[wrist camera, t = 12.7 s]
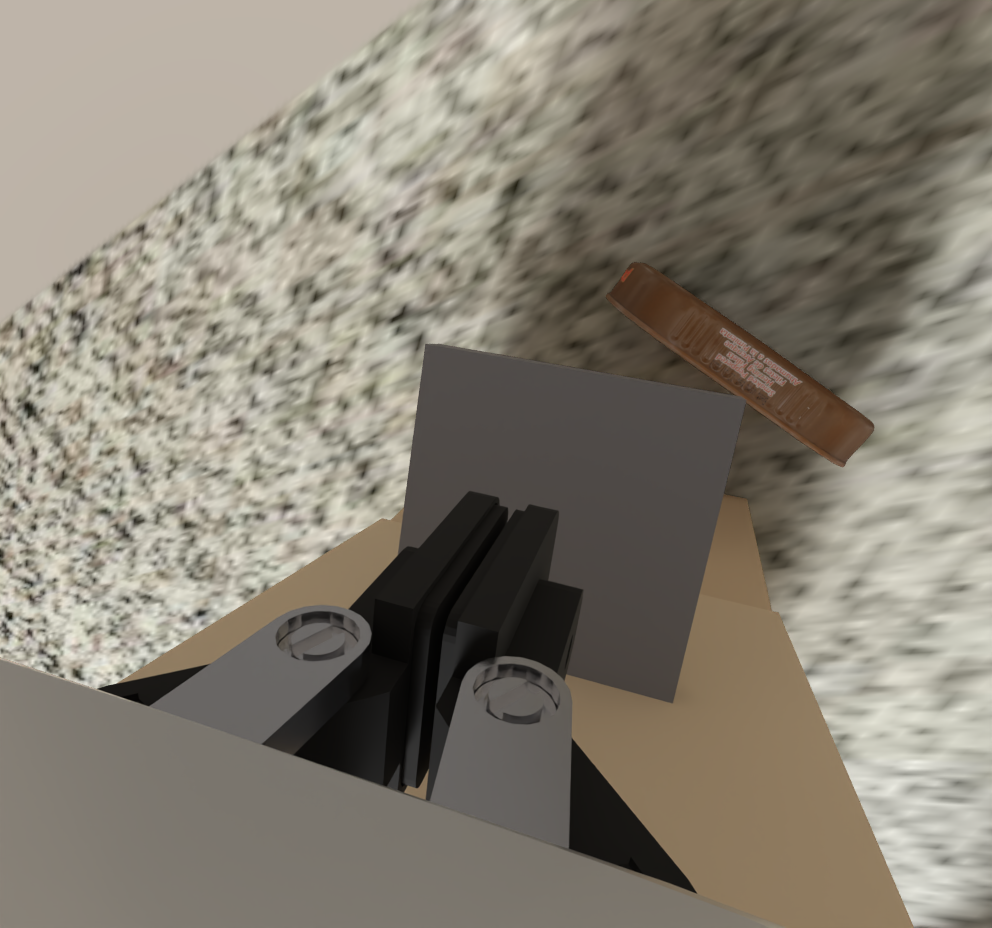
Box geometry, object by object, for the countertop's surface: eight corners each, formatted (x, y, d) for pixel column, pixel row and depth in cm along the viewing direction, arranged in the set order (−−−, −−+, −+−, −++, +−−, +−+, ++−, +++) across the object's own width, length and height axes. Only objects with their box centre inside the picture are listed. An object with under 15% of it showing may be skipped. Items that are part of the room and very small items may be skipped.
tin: (610, 294, 39) (591, 310, 31) (643, 247, 37) (632, 251, 30) (820, 443, 38) (853, 496, 31) (860, 401, 37) (906, 445, 29)
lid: (994, 1176, 9) (1273, 544, 7) (-13, 789, 13) (-21, 300, 11) (775, 625, 27) (836, 400, 25) (380, 530, 31) (405, 327, 29)
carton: (682, 725, 47) (681, 909, 34) (446, 659, 51) (366, 803, 38) (747, 498, 40) (774, 623, 28) (470, 441, 44) (382, 528, 31)
